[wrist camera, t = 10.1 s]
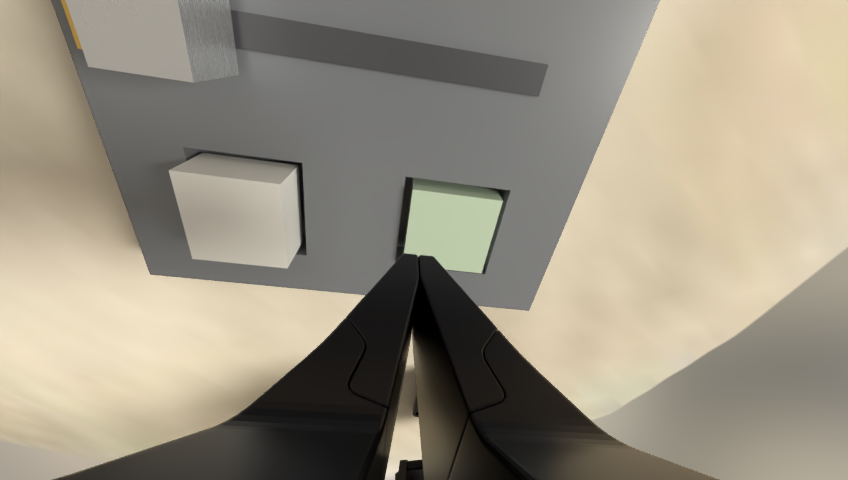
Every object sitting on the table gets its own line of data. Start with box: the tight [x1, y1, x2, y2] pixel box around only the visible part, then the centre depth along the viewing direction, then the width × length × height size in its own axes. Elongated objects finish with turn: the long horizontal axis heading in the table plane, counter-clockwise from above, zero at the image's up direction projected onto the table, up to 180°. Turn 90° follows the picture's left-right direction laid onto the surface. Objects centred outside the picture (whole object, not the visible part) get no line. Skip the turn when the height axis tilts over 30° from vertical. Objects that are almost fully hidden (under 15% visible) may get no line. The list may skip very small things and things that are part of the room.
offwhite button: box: [169, 153, 303, 269], centre depth 16 cm, size 4×4×2 cm
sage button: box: [403, 178, 503, 273], centre depth 18 cm, size 4×4×2 cm
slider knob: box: [66, 0, 239, 83], centre depth 10 cm, size 3×3×3 cm
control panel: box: [52, 0, 660, 311], centre depth 16 cm, size 16×22×3 cm
